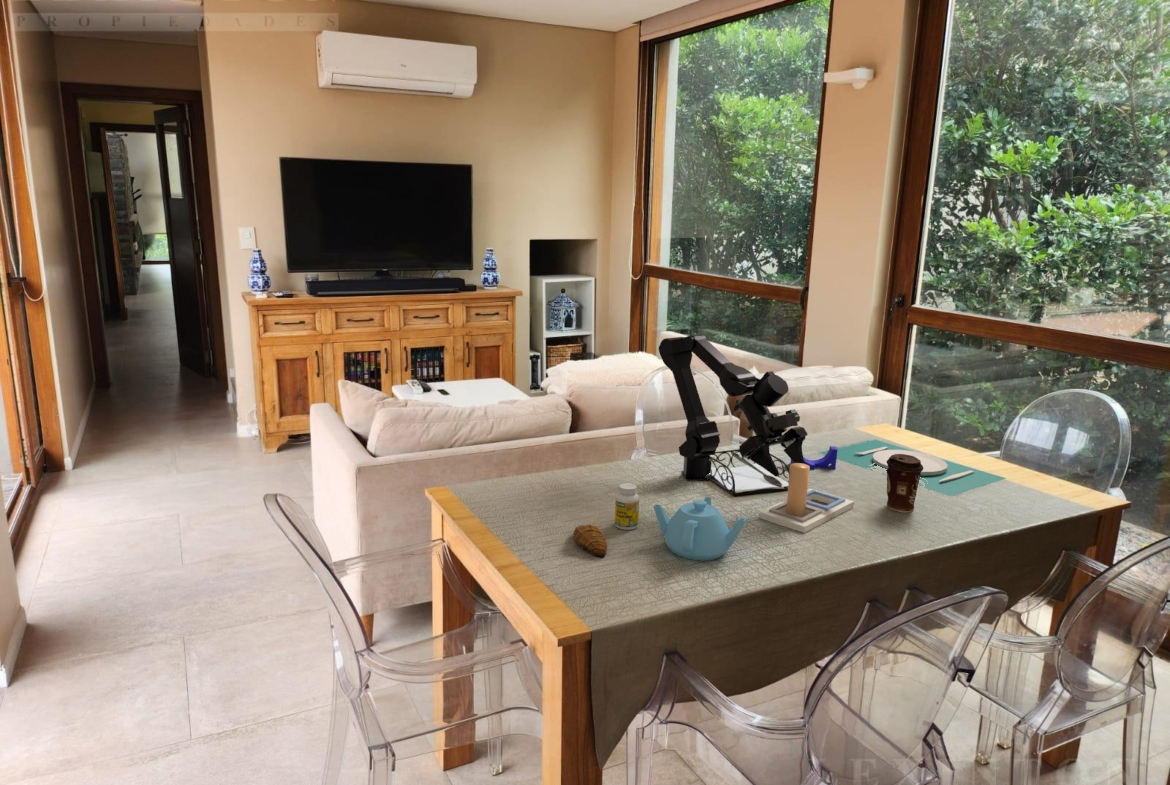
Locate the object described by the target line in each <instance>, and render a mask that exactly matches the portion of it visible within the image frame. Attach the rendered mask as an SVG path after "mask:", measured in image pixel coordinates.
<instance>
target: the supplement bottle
mask: <svg viewBox="0 0 1170 785" xmlns="http://www.w3.org/2000/svg"><path fill="white" fill-rule="evenodd" d="M637 487H638V486H636V484H634V483H630V482H629V483H626V482H624V483H621V484H619V486H618V493H617V494H616V495H615V505H614V507H615V510H614V526H615V527H616V528H617V529H620V530H623V531H624V530H625V531H631V530H635V529H637V528H638V527H639V519H640V518H639V516H640V513H639V512H640V496H639V495H638V494H637Z"/></svg>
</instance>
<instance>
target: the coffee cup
mask: <svg viewBox="0 0 1170 785" xmlns="http://www.w3.org/2000/svg"><path fill="white" fill-rule="evenodd" d="M887 465H888V471H887V475H886V495H887V501H886V507H887V508H889V509H890V510H891V511H895V512H898V513H905V514H906V513H912V512H913V511H914V509H915V501H916V497H917V492H918V487H919V486H918V484H919V480H920V476H921V474H920V473H921V471H922V470H923V466H922V465H921V461H920V460H919V459H918V458H916V457H914V456H911V455H906V454H894V455H892V456H890V457H889V459H888V460H887Z"/></svg>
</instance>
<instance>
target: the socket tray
mask: <svg viewBox="0 0 1170 785" xmlns="http://www.w3.org/2000/svg"><path fill="white" fill-rule="evenodd" d="M812 500H814V501H817V500H818V501H817V502H821V503H825V504H827V505H824V504H820V503H817V502H814V501H812ZM786 506H787V498H786V499H785V500H781V501H779V502H778V503H775V504H773V505H771V506H769V507H767V508H765V509H762V510H760V511H759V512H758V519H761V520H763V521H767V522H770V523H774V524H776V525H779V526H782V527H785V528H788V529H792V530H795V531H796V532H797V531H798V532H801V533H802V534H803V533H804V534H806V533H808V532H809V531H811V530H812V529H815V528H816V527H819V526H820V525H822V524H824V523H826V522H828V521H830V520H832V519H833V517H834V518H836V517H837V516H839V515H841V514H843V513H845V512H847V511H849V510H851V509H853V508H854V506H855V501H854V500H852V499H848V498H844V497H841V496H838V495H835V494H831V493H829V492H824V491H821V490H816V489H814V488H808V490H807V500H806V510H805V516H804V517H802V518H800V517H797V516H794V515H791V514H788V513H786ZM835 516H836V517H835ZM831 518H832V519H831Z"/></svg>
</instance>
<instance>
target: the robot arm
mask: <svg viewBox="0 0 1170 785" xmlns="http://www.w3.org/2000/svg"><path fill="white" fill-rule="evenodd" d="M658 353H659V355H660V357H661V360H662V363H663V364H664V365H665V366H666V367H667V368H668V369H669V371H671V373H672V375H673V379H674V383H675V385H676V389H677V391H678V395H679V398H680V401H681V402H680V403H681V404H682V407H683V411H684V415H685V418H686V421H687V422H686V428H685V432H684V433H685V434H684V435H685V439H686V440H685V441H684V442H682V444H680V446H678V451H679V455H680V456H681V457H683V470H681V475H682V477H684V479H685V480H686V481H708V480H707V478H705V476H706V475H707V474H709V473H712V460H711V459H710V457H711V456H714V455H715V454H716V451H717V448H718V447H719V444H720V443H721V439H720V436H721V433H720V432H719V428H718V424H717V422H716V421H715V420H709V419H708V418H707V416H706V413H705V411H704V408H703V404H702V401H701V398H700V395H699V392H698V388H697V385H696V381H695V379H694V376H693V372H692V369H691V362H692V360H693V359H692V358H693V354H694V355H695V356H696V358H697V359H699V360H700V361H701V362H702V363H703V364H704V365H705V366H707V367H708V368H709V370H711V371H712V373H714V374H715V375H716V376H717V378H718V380H719V384H720V386H721V387H722V389H723V390H724V392H725V393H726V394H727V395H728V396H730V397H732V398H733V397H740V396H741V397H742V396H744V397H742V398H741V399H736V400H735V403H734V407H733V411H734V412H740V411H742V413H743V415H744V416H745V418H746V421H747V422H748V424H749V426H748V427H747V429H748V432H754V434H755V435H751V436H749V437H748V438H747V439H745V441H744V442H742V443H741V444H740V445H739V447H738V448H739V449H738V452H739V454H740V455H741V458H743V459H744V458H746V460H748V461H749V460H750V461H752V462H753V463H755V464H756V465H758V466H760V467H761V468H763V469H764V470H766V471H767V472H768V473H770V474H771V475H772V476H774V477H776V478H777V477H779V476H780V472H779V470H778V467H777V466H776V464H775V461H774V460H773V459H774V458H773V457H772V456H771V454H770V453H771V452H770V447H772V446H775V445H780V446H781V447H782V448H784V449H783V452H784V453H785V454H786V455H787V456H788V457H789V459H790V460H791V459H792V461H793V462H794V463H802V464H804V458H805V457H804V454H803V447H802V446H803V442H804V441H805V440H806V437H807V436H808V435H809V434H808V433H807V430H806V429H805V427H803V426H799V423H798V422H800V421H801V416H800V415H799V413H798V411H797V410H796V409H795V408H794V409H789V410H786V411H785V414H781V415H778V414H777V413H776V412H772V413H771V411H770V409H769V408H768V407H772V406H775V404H776V403H777V402H778V401H779V400H780V399H782V398H783V397H784V396H785V395H786V394H787V393H788V392H789V385H788V383H787V381H786V380H784V378H782V377H781V376H779V375H777V374H775V372H774V371H773V370H770V371H766V372H765V373H764V374H763V375H762V377H761V378H758V377H756V376H755V374H754V373H753V372H751V371H749V370H748V369H746V368H745V367H743V366H740V365H738V364H737V365H736V364H735V363H733V362H732V361H730V360H729V358H727V357H726V356H725V355H724V354H723V353H722V352H721V351H719V350H718V349H717V348H716V347H715V346H714V345H713V344H712V343H711V342H710V341H709V340H708V339H707V337H706V335H704V334H701V333H697V334H690V335H687V336H685V337H684V336H676V337H666V338H662V340H661V341H660V344H659V346H658ZM790 427H792V428H790ZM788 428H789V429H788ZM803 457H804V458H803Z"/></svg>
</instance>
